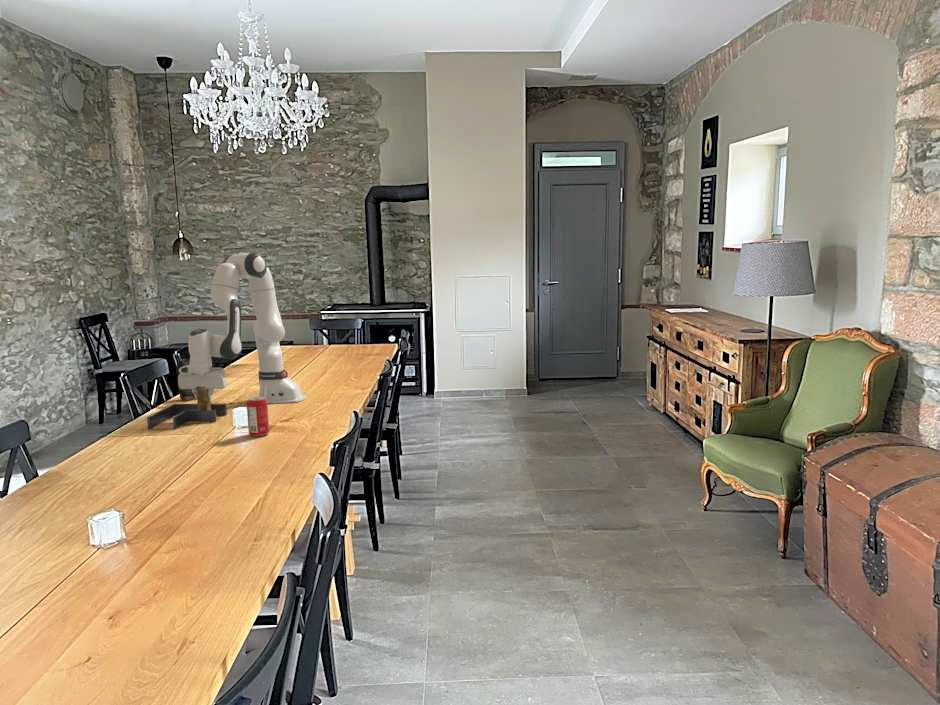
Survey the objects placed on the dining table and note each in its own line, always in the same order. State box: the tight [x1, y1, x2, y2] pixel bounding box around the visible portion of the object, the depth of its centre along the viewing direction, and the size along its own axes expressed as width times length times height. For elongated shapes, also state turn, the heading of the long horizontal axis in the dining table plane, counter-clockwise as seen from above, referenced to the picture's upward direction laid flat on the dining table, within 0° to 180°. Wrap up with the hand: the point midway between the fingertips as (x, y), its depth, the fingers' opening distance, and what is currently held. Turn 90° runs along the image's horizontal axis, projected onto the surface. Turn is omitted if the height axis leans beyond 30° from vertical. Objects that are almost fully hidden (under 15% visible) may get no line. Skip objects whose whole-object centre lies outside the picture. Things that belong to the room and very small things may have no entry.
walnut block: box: [196, 387, 212, 410], centre depth 314 cm, size 4×4×12 cm
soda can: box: [246, 395, 270, 438], centre depth 287 cm, size 8×8×15 cm
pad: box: [153, 422, 174, 429], centre depth 304 cm, size 8×8×1 cm
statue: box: [175, 358, 196, 402], centre depth 350 cm, size 7×7×20 cm
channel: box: [146, 403, 228, 430], centre depth 310 cm, size 24×23×5 cm
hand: (203, 398), depth 314 cm, fingers closed on walnut block, 4 cm apart
